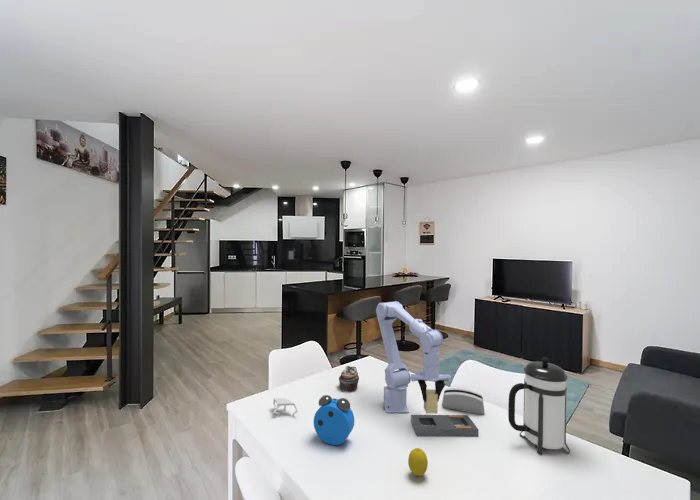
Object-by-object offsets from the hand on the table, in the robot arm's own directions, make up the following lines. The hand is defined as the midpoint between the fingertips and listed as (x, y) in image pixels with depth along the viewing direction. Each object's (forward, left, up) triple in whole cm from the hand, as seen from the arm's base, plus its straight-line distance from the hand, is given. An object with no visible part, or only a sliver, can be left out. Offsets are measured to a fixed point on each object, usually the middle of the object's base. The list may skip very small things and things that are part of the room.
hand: (430, 400), depth 119 cm
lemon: (-11, -25, -11) cm, 29 cm away
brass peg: (0, 0, -4) cm, 4 cm away
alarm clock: (-36, -8, -11) cm, 38 cm away
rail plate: (+5, 0, -10) cm, 12 cm away
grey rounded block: (+18, +15, -11) cm, 25 cm away
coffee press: (+35, -10, -11) cm, 38 cm away
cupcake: (-30, +34, -11) cm, 46 cm away
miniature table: (-56, +10, -11) cm, 58 cm away
